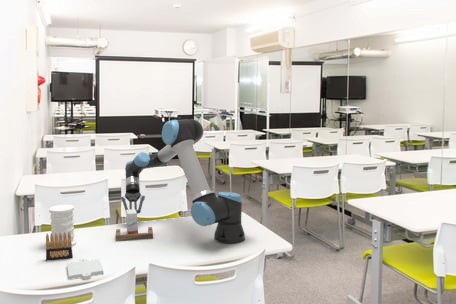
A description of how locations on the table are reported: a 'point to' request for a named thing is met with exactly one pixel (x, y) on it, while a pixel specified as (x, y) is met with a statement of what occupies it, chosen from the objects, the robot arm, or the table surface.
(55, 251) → the ammunition clip
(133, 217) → the ink box
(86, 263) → the mounting plate
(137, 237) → the walnut bay
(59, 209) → the decorative container
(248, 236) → the table surface
